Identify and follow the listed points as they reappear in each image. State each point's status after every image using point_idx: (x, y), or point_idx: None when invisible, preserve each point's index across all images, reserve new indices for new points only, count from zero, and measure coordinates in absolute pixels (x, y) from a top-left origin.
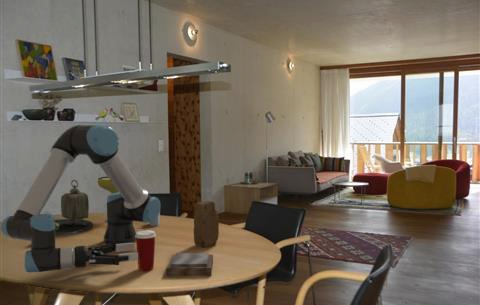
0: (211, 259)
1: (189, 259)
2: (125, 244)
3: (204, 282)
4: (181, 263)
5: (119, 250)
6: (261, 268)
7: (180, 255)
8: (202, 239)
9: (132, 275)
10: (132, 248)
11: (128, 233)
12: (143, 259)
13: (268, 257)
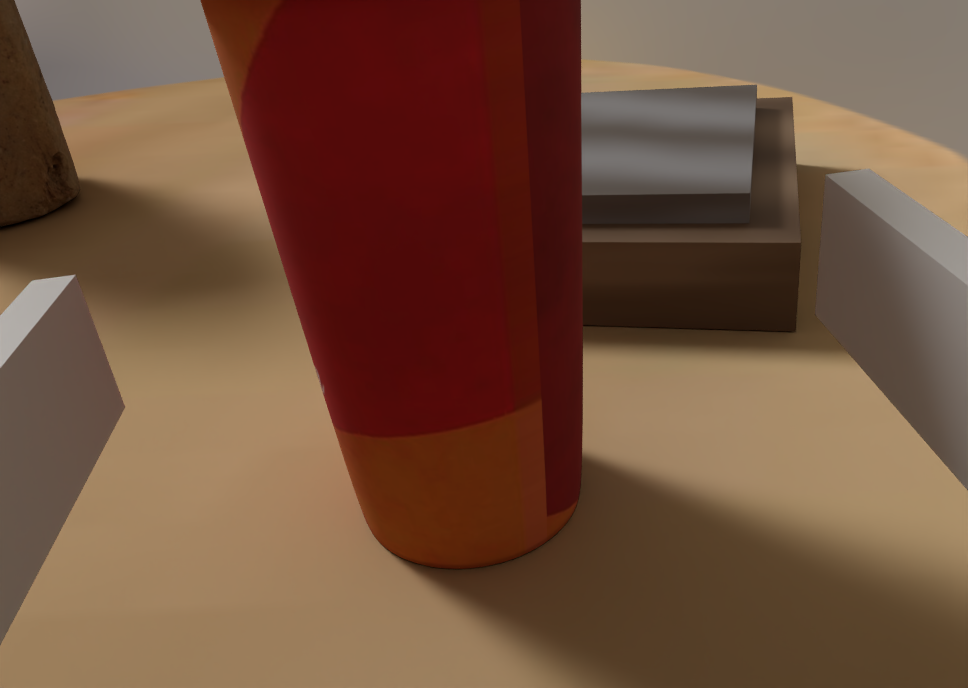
0: None
1: (616, 137)
2: (11, 376)
3: (945, 175)
4: (741, 154)
5: (3, 600)
6: (657, 72)
7: None
8: (49, 139)
9: (746, 631)
10: (109, 387)
11: None
12: (579, 343)
13: None
